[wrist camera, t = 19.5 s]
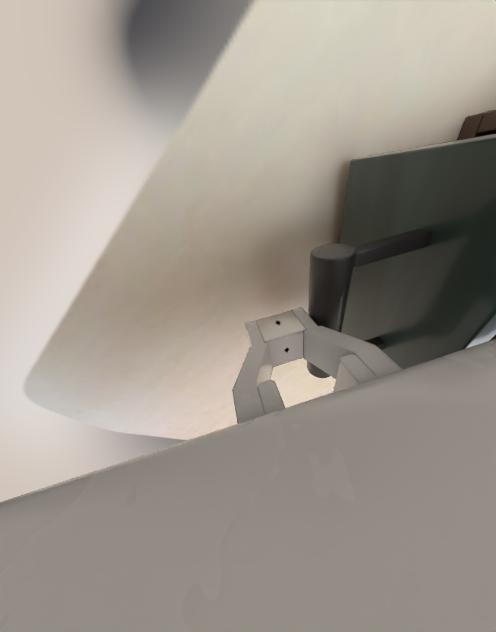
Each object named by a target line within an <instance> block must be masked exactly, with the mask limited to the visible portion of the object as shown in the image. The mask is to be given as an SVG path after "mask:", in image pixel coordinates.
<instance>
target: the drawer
mask: <svg viewBox="0 0 496 632" xmlns="http://www.w3.org/2000/svg"><path fill="white" fill-rule="evenodd" d="M308 315H309V316H310V317H311V319H312V320H313V321H314V322H315V323H316V324H317V325H318V326H324V327H326V328H329V329H332V330H335V331H338V332H340V333H343V334H346V335H349V336H352V337H354V338H357V339H360V340H363V341H365V342H368V343H371V344H374V345H376V346H377V347H378V348H379V349H381V350H382V351H383V352H384V353H385V354H386V355H387V356H388V357H389V358H390V359H392V360H393V361H394V362H395V363H396V364H397V365H398V366H399V367H400V368H402V369H406V368H409V367H412V366H415V365H418V364H421V363H424V362H427V361H430V360H433V359H436V358H439V357H442V356H445V355H448V354H451V353H454V352H457V351H460V350H463V349H466V348H469V347H472V346H475V345H478V344H481V343H484V342H487V341H490V340H493V339H496V134H492V135H486V136H480V137H475V138H469V139H463V140H457V141H451V142H445V143H439V144H434V145H428V146H422V147H416V148H410V149H404V150H398V151H393V152H387V153H381V154H375V155H370V156H366V157H362V158H357V159H353V160H351V161H350V167H349V175H348V183H347V191H346V198H345V206H344V214H343V222H342V230H341V238H340V244H337V243H336V244H326V245H321V246H318V247H316V248H314V249H313V250H312V251H311V252H310V274H309V309H308ZM307 368H308V370H309V372H310V373H311V374H312V375H314V376H316V377H318V378H327V377H329V376H330V375H329V374H327V373H326V372H324V371H323V370H321V369H319V368H318V367H316V366H315V365H313V364H312V363H310V362H309V361H307Z"/></svg>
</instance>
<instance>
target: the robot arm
mask: <svg viewBox="0 0 496 632" xmlns="http://www.w3.org/2000/svg"><path fill="white" fill-rule="evenodd" d="M245 324H246V329H247V333H248V337H249V340H250V344H251V347H250V349H249V351H248V353H247V356H246V358H245V361H244V363H243V366H242V368H241V370H240V373H239V375H238V378H237V380H236V383H235V385H234V387H233V390H232V391H233V398H234V404H235V410H236V416H237V423H238V424H236V425H233V426H230V427H227V428H224V429H221V430H218V431H215V432H212V433H209V434H206V435H203V436H200V437H197V438H194V439H191V440H188V441H185V442H182V443H179V444H176V445H173V446H170V447H166V448H163V449H161V450H157V451H154V452H151V453H148V454H146V455H142V456H140V457H136V458H133V459H130V460H127V461H124V462H121V463H118V464H115V465H112V466H109V467H106V468H103V469H100V470H97V471H94V472H91V473H88V474H85V475H82V476H79V477H76V478H72V479H70V480H66V481H63V482H60V483H58V484H54V485H51V486H48V487H45V488H42V489H39V490H36V491H33V492H30V493H27V494H24V495H21V496H18V497H15V498H12V499H9V500H6V501H3V502H0V632H496V339H493V340H490V341H487V342H484V343H481V344H478V345H475V346H472V347H469V348H466V349H463V350H460V351H457V352H454V353H451V354H448V355H445V356H442V357H439V358H436V359H433V360H430V361H427V362H424V363H421V364H418V365H415V366H412V367H409V368H406V369H402V368H400V367H399V366H398V365H397V364H396V363H395V362H394V361H393V360H392V359H390V358H389V357H388V356H387V355H386V354H385V353H384V352H383V351H382V350H381V349H379V348H378V347H377V346H376V345H374V344H371V343H368V342H365V341H363V340H360V339H357V338H354V337H352V336H349V335H346V334H343V333H340V332H338V331H335V330H332V329H329V328H326V327H324V326H318V325H317V324H316V323H315V322H314V321H313V320H312V319H311V317H310V316H309V315H308V314H307V313H306V312H305V310H304V309H303V308H301V307H299V308H296V309H293V310H291V311H287V312H284V313H280V314H277V315H274V316H270V317H266V318H262V319H259V320H255V321H252V322H248V323H245ZM301 358H304V359H305V360H307V361H309V362H310V363H312V364H313V365H315V366H316V367H318V368H319V369H321V370H323V371H324V372H326V373H327V374H329V375H330V376H332V377H333V378H335V379H336V383H335V387H334V392H333V393H330V394H327V395H324V396H321V397H318V398H315V399H312V400H309V401H306V402H303V403H300V404H297V405H294V406H290V407H287V408H285V406H284V403H283V401H282V398H281V396H280V393H279V391H278V388H277V386H276V383H275V381H273V380H271V375H272V370H273V367H275V366H278V365H281V364H284V363H287V362H290V361H294V360H297V359H301Z"/></svg>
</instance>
